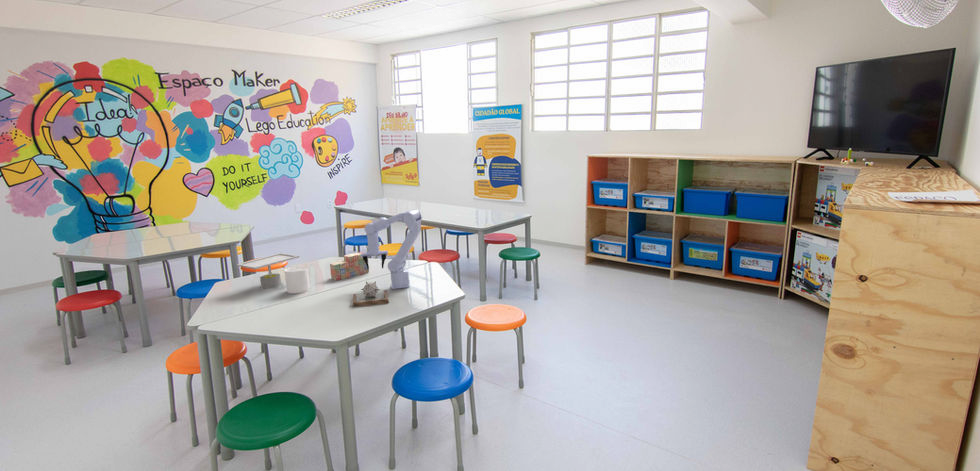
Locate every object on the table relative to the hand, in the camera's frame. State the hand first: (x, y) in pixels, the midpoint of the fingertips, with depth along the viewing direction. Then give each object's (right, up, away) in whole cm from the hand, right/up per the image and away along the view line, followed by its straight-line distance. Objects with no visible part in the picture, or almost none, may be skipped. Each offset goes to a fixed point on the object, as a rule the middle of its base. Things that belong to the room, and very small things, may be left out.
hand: (375, 268), depth 273 cm
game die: (+2, -14, -18) cm, 23 cm away
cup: (-42, -12, -2) cm, 43 cm away
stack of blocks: (-20, -6, +23) cm, 31 cm away
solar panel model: (-61, -10, +9) cm, 62 cm away
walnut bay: (+3, -14, -23) cm, 27 cm away
